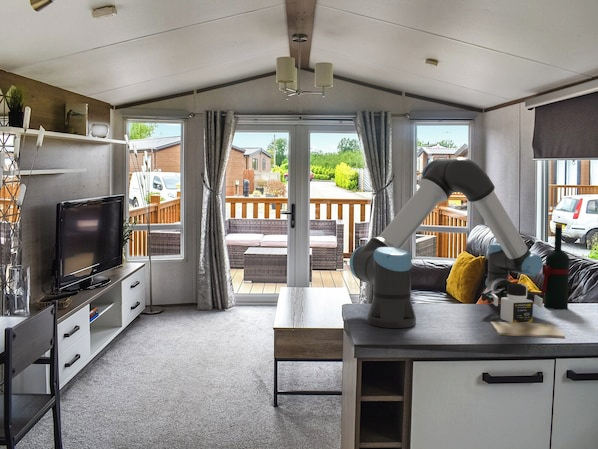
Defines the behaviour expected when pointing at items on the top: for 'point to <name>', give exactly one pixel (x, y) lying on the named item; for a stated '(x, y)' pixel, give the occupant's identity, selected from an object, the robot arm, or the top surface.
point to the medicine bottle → (516, 305)
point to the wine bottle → (556, 275)
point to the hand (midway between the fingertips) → (519, 302)
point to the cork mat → (526, 329)
